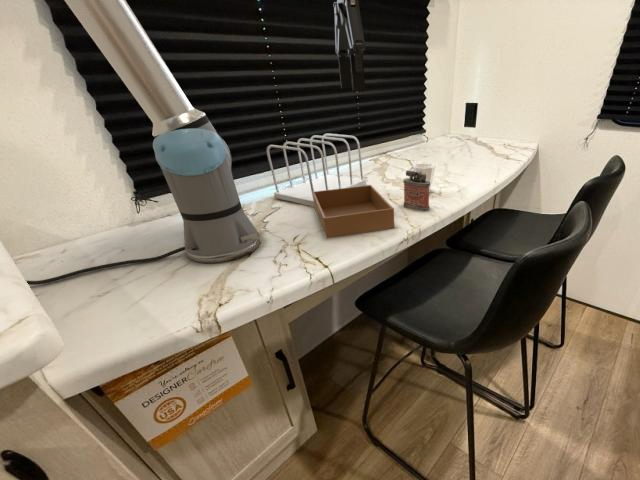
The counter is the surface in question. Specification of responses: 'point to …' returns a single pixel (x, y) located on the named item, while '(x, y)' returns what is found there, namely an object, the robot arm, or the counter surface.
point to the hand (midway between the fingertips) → (352, 89)
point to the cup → (425, 171)
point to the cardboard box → (352, 211)
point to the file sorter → (321, 183)
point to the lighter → (416, 191)
